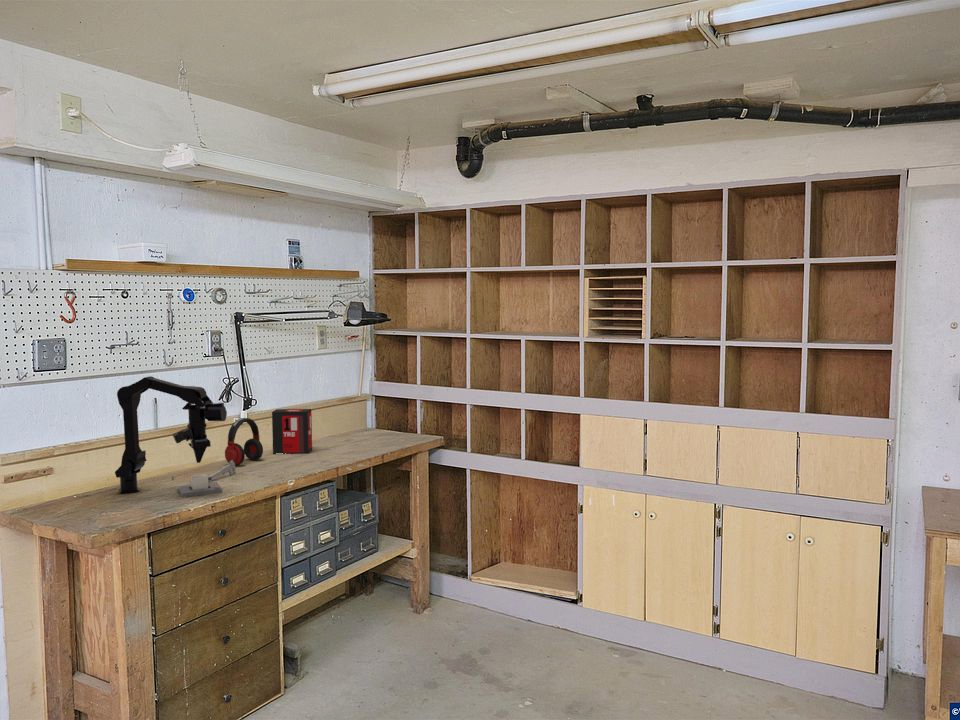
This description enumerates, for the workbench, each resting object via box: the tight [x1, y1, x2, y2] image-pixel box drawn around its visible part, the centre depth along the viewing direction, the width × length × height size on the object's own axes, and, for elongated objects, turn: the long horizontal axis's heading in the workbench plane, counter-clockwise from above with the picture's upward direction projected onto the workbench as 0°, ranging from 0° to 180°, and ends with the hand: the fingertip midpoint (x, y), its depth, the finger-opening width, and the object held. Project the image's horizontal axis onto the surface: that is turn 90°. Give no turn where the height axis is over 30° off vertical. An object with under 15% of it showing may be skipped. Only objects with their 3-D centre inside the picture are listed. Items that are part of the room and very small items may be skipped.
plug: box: [190, 473, 213, 490], centre depth 271 cm, size 4×7×6 cm, turn 120°
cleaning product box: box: [271, 408, 313, 455], centre depth 343 cm, size 16×9×20 cm, turn 92°
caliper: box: [207, 460, 237, 482], centre depth 289 cm, size 20×1×6 cm, turn 157°
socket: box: [177, 481, 223, 499], centre depth 271 cm, size 12×14×2 cm
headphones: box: [224, 417, 264, 467], centre depth 320 cm, size 18×10×20 cm, turn 157°
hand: (198, 462), depth 270 cm, fingers closed
